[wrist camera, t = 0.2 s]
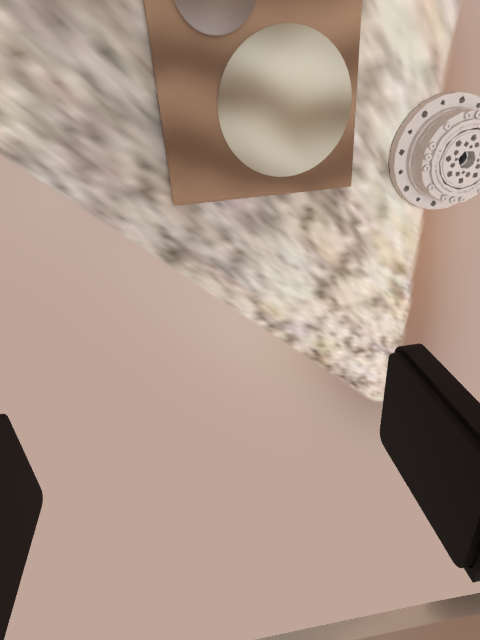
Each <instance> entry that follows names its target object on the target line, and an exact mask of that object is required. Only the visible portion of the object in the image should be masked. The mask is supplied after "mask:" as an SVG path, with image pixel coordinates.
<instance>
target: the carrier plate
mask: <svg viewBox="0 0 480 640" xmlns="http://www.w3.org/2000/svg"><path fill="white" fill-rule="evenodd" d="M144 5H145V12H146V18H147V25H148V32H149V39H150V46H151V53H152V59H153V66H154V73H155V80H156V87H157V94H158V101H159V107H160V114H161V121H162V128H163V135H164V142H165V148H166V155H167V162H168V169H169V176H170V183H171V190H172V196H173V203H174V206H175V205H184V204H193V203H202V202H211V201H221V200H230V199H239V198H248V197H257V196H267V195H276V194H285V193H294V192H303V191H312V190H322V189H331V188H340V187H349V186H351V177H352V160H353V143H354V126H355V109H356V92H357V75H358V58H359V41H360V24H361V7H362V0H144Z"/></svg>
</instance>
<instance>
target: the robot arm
mask: <svg viewBox="0 0 480 640" xmlns="http://www.w3.org/2000/svg"><path fill="white" fill-rule="evenodd" d="M380 437H381V441H382V444H383V445H384V447H385V449H386V451H387V452H388V454H389V456H390V457H391V459H392V461H393V462H394V464H395V466H396V467H397V469H398V471H399V472H400V474H401V476H402V477H403V479H404V481H405V482H406V484H407V486H408V487H409V489H410V491H411V492H412V494H413V496H414V497H415V499H416V501H417V502H418V504H419V506H420V507H421V509H422V511H423V512H424V514H425V516H426V517H427V519H428V521H429V522H430V524H431V526H432V527H433V529H434V531H435V532H436V534H437V536H438V537H439V539H440V540H441V542H442V544H443V546H444V547H445V549H446V550H447V552H448V554H449V556H450V557H451V559H452V561H453V562H454V563H455V565H456V566H458V567H459V568H464V569H465V570H466V572H467V574H468V575H469V577H470V579H471V580H472V582H477V581H480V403H479V402H478V401H477V400H476V399H475V398H474V397H473V396H472V395H471V394H470V393H469V392H468V391H467V390H466V389H465V388H464V387H463V386H462V384H461V383H460V382H458V380H457V379H456V378H455V377H454V376H453V375H452V374H451V373H450V372H449V371H448V370H447V369H446V368H445V367H444V366H443V365H442V364H441V363H440V362H439V361H438V360H437V359H436V358H435V357H434V356H433V355H432V354H431V353H430V352H429V351H428V350H427V349H426V348H425V347H424V346H423V345H422V344H414V345H406V346H400V347H397V348H396V350H395V353H392V354H390V356H389V360H388V368H387V376H386V384H385V392H384V401H383V409H382V418H381V425H380ZM42 501H43V495H42V490H41V488H40V486H39V484H38V481H37V479H36V477H35V475H34V472H33V470H32V468H31V466H30V464H29V462H28V460H27V457H26V455H25V453H24V451H23V448H22V446H21V444H20V442H19V440H18V438H17V435H16V434H15V431H14V429H13V427H12V424H11V422H10V421H9V418H8V416H7V415H5V414H0V640H4V637H5V633H6V630H7V626H8V623H9V619H10V616H11V612H12V609H13V605H14V602H15V598H16V595H17V591H18V588H19V584H20V580H21V577H22V574H23V570H24V566H25V563H26V560H27V556H28V553H29V549H30V546H31V542H32V539H33V535H34V531H35V528H36V524H37V521H38V518H39V514H40V510H41V507H42ZM257 640H480V593H477V594H473V595H467V596H461V597H456V598H451V599H446V600H441V601H435V602H431V603H426V604H422V605H416V606H412V607H407V608H402V609H398V610H393V611H388V612H383V613H379V614H374V615H369V616H364V617H359V618H355V619H350V620H345V621H341V622H336V623H331V624H326V625H321V626H317V627H312V628H307V629H303V630H299V631H293V632H289V633H284V634H280V635H275V636H270V637H266V638H261V639H257Z"/></svg>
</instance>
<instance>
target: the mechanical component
mask: <svg viewBox="0 0 480 640" xmlns="http://www.w3.org/2000/svg"><path fill="white" fill-rule="evenodd" d="M389 169H390V177H391V180H392V183H393V185H394V187H395V189H396V190H397V192H398V193H399V195H400V196H402V197H403V198H404V199H405V200H406V201H408V202H410V203H411V204H413V205H415V206H417V207H421V208H426V209H440V208H447V207H449V206H452V205H454V204H456V203H459V202H461V203H463V202H465V201H466V200H468V199H470V198H472V197H474V196H476V195H477V194H478V193H480V97H478V96H476V95H474V94H470V93H463V92H448V93H443V94H439V95H436V96H434V97H432V98H430V99H428V100H426V101H424V102H422V103H421V104H420V105H419V106H418V107H417V108H415V109H414V110H413V111H412V112H411V113H410V114H409V115H408V116H407V118H406V119H405V120H404V122H403V123H402V124H401V126H400V128H399V130H398V131H397V133H396V135H395V138H394V140H393V143H392V146H391V152H390V158H389Z"/></svg>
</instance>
